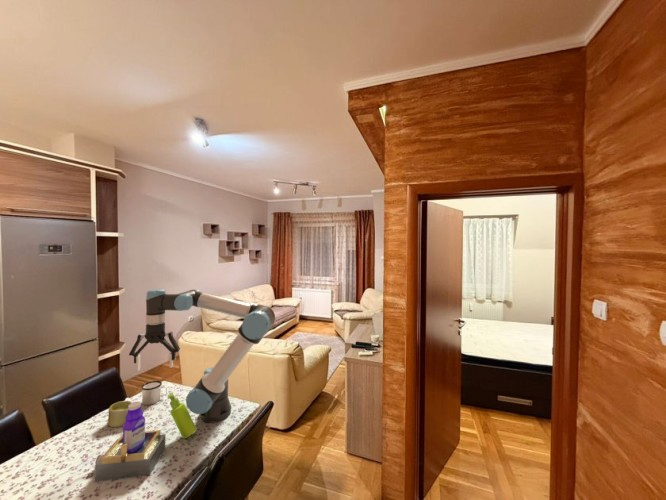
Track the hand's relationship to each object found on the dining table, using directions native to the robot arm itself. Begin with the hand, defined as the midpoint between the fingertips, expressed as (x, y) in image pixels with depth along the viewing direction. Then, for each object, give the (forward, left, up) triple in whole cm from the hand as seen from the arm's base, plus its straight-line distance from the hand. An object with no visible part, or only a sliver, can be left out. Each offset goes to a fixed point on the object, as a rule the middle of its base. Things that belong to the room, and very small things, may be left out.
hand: (155, 368), depth 128 cm
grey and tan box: (0, +21, -29) cm, 36 cm away
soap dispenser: (-18, +8, -27) cm, 34 cm away
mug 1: (+17, -8, -29) cm, 34 cm away
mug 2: (+11, -27, -29) cm, 41 cm away
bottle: (-1, +21, -23) cm, 31 cm away
